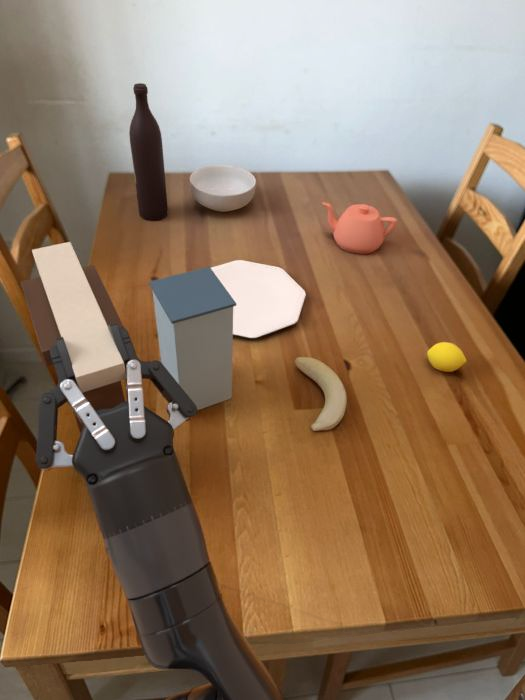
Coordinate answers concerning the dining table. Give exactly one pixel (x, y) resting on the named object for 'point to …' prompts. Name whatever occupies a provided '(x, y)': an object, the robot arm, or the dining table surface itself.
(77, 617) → the dining table surface
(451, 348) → the lemon
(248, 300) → the plate
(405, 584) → the dining table surface
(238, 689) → the robot arm
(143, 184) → the wine bottle
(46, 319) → the stand
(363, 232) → the teapot
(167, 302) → the container
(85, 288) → the slat
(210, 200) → the cereal bowl
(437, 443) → the dining table surface
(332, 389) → the fruit
